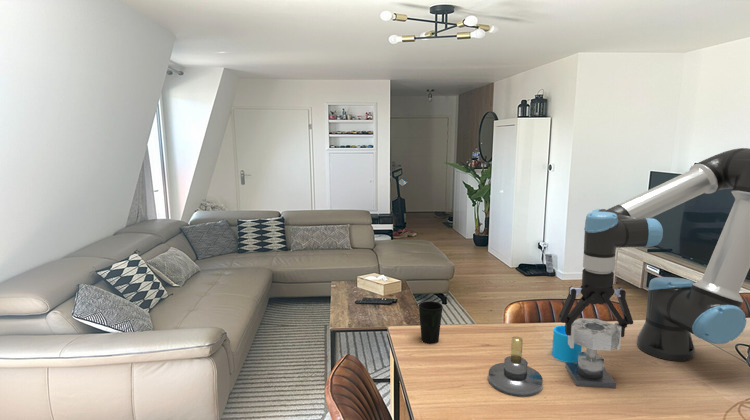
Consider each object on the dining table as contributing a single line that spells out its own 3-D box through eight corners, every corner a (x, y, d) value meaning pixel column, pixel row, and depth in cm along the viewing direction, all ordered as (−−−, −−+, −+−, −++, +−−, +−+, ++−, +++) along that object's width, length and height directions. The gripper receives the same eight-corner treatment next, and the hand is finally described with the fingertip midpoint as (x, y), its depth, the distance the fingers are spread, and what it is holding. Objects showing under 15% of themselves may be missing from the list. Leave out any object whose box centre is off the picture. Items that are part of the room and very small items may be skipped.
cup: (425, 333, 153) (426, 299, 151) (445, 339, 148) (446, 304, 146) (413, 341, 147) (414, 306, 145) (434, 347, 142) (435, 311, 140)
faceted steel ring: (607, 332, 128) (608, 319, 127) (624, 350, 117) (625, 336, 116) (566, 331, 129) (567, 318, 128) (579, 349, 118) (579, 334, 117)
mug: (586, 362, 133) (588, 336, 132) (558, 363, 133) (560, 337, 131) (567, 344, 145) (569, 320, 143) (542, 344, 144) (544, 320, 143)
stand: (601, 369, 129) (605, 329, 127) (615, 388, 119) (619, 345, 117) (565, 367, 130) (568, 328, 128) (576, 385, 120) (579, 343, 118)
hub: (535, 370, 128) (538, 329, 126) (548, 398, 114) (551, 352, 112) (485, 367, 130) (487, 326, 128) (492, 394, 116) (493, 349, 114)
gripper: (638, 266, 122) (633, 342, 125) (548, 265, 125) (545, 339, 128) (652, 274, 115) (645, 354, 118) (555, 273, 117) (552, 351, 121)
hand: (593, 346), depth 123 cm, fingers closed on faceted steel ring, 11 cm apart
